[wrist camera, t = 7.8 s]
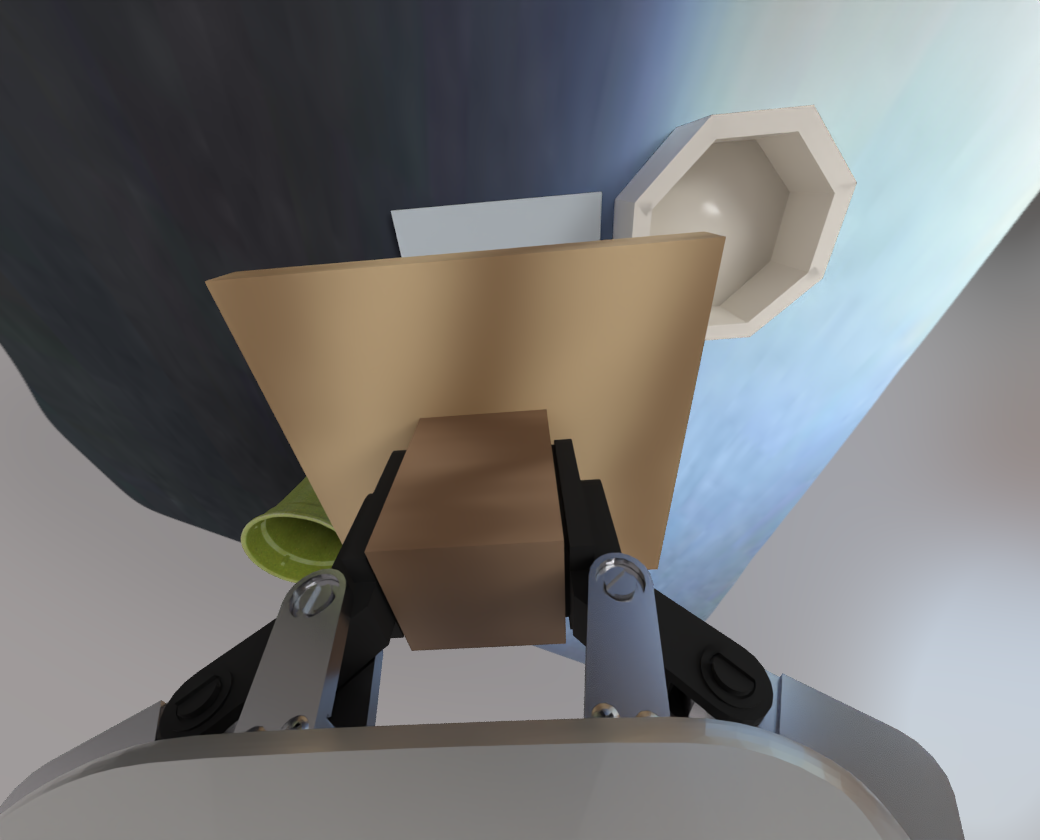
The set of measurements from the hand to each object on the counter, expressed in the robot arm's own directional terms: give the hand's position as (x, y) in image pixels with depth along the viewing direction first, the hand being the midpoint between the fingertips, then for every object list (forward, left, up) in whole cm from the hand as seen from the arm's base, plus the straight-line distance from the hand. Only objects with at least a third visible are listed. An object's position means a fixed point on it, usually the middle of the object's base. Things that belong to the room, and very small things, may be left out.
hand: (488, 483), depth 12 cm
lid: (0, 0, -2) cm, 2 cm away
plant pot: (+19, +17, -20) cm, 32 cm away
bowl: (-14, -4, -20) cm, 25 cm away
